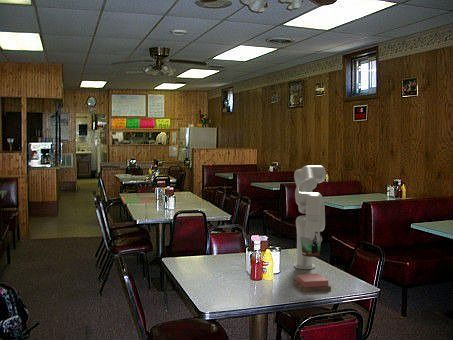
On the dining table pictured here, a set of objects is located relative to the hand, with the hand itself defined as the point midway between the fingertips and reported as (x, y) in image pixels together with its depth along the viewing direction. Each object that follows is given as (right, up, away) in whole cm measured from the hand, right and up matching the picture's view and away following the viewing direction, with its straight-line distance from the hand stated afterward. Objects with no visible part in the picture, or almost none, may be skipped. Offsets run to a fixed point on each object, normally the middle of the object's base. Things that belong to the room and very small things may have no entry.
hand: (312, 251), depth 257 cm
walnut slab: (0, -20, +1) cm, 20 cm away
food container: (0, -3, 0) cm, 3 cm away
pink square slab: (0, -17, +1) cm, 17 cm away
